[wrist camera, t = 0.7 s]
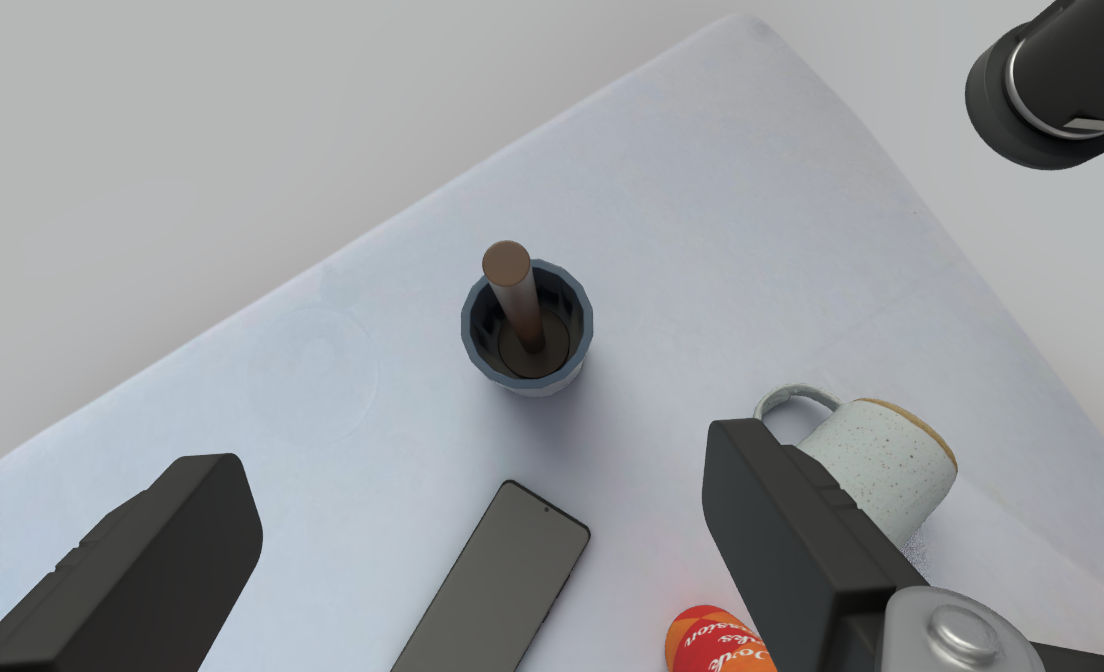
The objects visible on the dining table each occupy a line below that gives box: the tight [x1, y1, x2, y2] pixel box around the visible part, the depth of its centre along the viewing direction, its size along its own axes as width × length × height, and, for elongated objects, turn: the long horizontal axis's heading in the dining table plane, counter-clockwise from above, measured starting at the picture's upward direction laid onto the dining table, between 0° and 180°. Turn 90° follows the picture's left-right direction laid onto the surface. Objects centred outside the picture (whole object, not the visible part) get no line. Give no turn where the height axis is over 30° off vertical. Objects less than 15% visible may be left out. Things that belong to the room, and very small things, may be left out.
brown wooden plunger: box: [482, 241, 570, 379], centre depth 27 cm, size 5×5×20 cm
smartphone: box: [390, 480, 591, 672], centre depth 34 cm, size 7×1×15 cm
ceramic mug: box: [753, 383, 958, 550], centre depth 32 cm, size 11×8×8 cm
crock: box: [461, 259, 593, 397], centre depth 33 cm, size 7×7×10 cm
